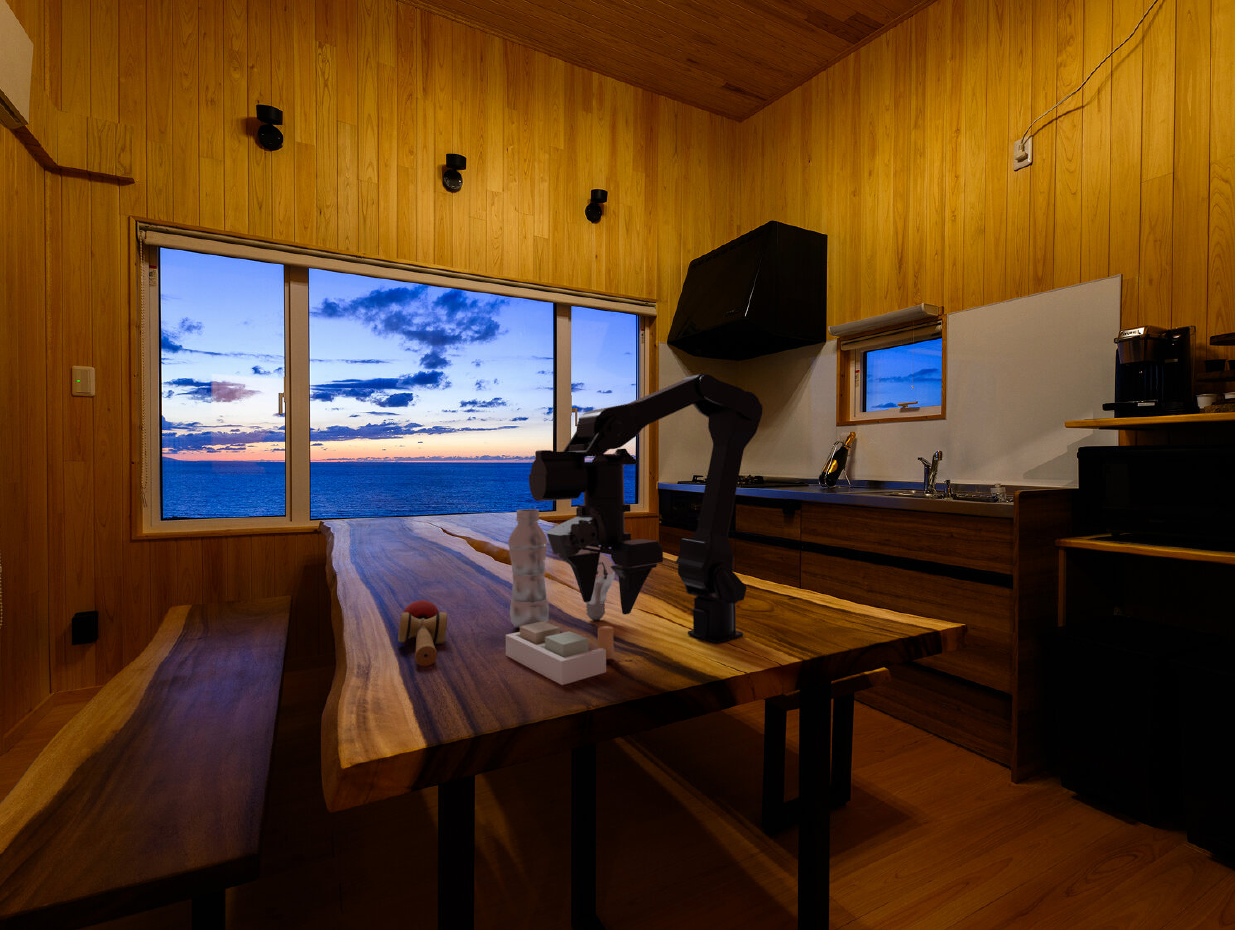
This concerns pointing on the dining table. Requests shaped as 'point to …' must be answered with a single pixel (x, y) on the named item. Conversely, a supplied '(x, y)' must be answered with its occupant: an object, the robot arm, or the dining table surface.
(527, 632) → the ash block
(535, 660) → the lane rack
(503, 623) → the dining table surface
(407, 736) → the dining table surface
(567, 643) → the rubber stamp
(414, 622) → the kendama
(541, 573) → the plastic bottle
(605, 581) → the light bulb
